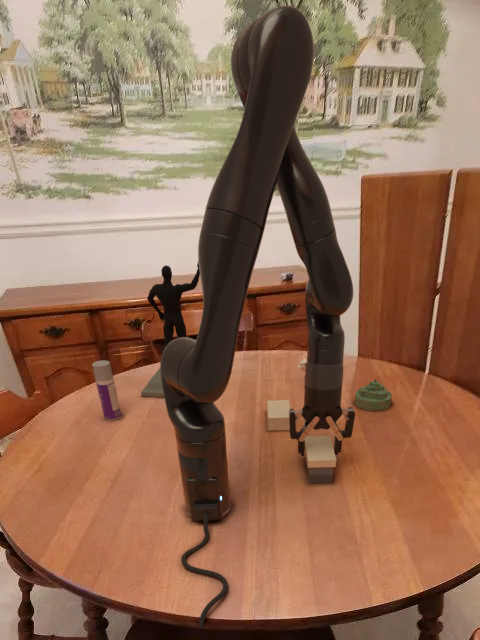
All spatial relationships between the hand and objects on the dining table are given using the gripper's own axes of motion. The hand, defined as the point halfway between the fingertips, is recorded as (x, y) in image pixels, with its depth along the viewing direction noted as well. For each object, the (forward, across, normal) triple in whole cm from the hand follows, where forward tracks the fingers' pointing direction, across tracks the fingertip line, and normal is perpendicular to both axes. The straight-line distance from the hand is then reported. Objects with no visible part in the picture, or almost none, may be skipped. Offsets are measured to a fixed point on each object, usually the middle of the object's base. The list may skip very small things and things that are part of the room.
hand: (319, 454), depth 109 cm
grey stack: (+4, 0, 0) cm, 4 cm away
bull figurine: (+4, +5, +52) cm, 52 cm away
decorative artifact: (+4, +19, +36) cm, 41 cm away
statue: (+4, -37, +53) cm, 65 cm away
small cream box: (+4, -8, +26) cm, 27 cm away
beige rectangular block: (0, 0, 0) cm, 0 cm away
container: (+4, -54, +31) cm, 62 cm away
